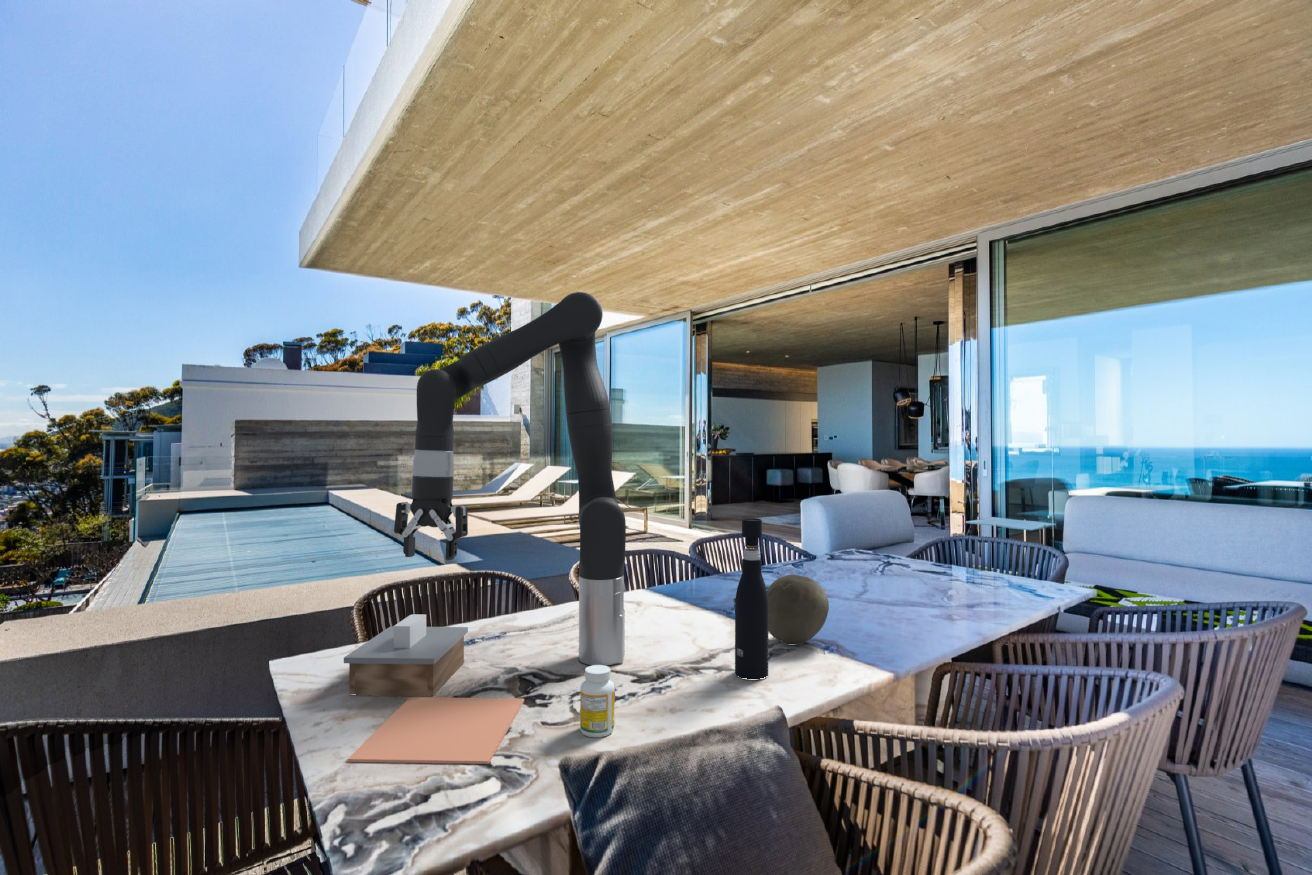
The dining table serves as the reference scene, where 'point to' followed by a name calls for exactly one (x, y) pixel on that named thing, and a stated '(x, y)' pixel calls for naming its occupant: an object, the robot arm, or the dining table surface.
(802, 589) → the cantaloupe
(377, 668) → the box
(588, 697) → the supplement bottle
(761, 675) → the black water bottle
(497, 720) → the mat
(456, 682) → the dining table surface
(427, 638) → the lid
